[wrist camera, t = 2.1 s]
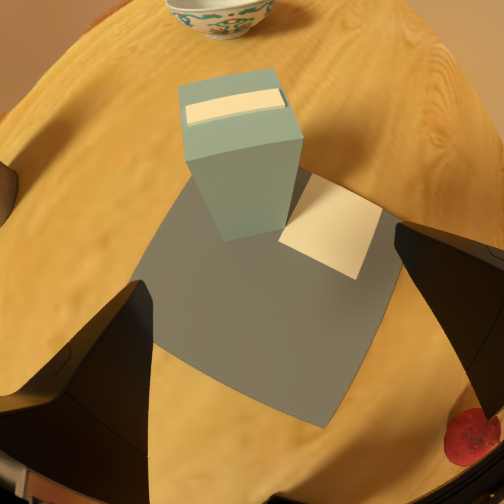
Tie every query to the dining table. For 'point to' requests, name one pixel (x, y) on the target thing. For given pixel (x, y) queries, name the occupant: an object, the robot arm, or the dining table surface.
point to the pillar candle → (7, 191)
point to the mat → (275, 295)
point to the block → (242, 150)
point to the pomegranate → (471, 437)
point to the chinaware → (220, 15)
